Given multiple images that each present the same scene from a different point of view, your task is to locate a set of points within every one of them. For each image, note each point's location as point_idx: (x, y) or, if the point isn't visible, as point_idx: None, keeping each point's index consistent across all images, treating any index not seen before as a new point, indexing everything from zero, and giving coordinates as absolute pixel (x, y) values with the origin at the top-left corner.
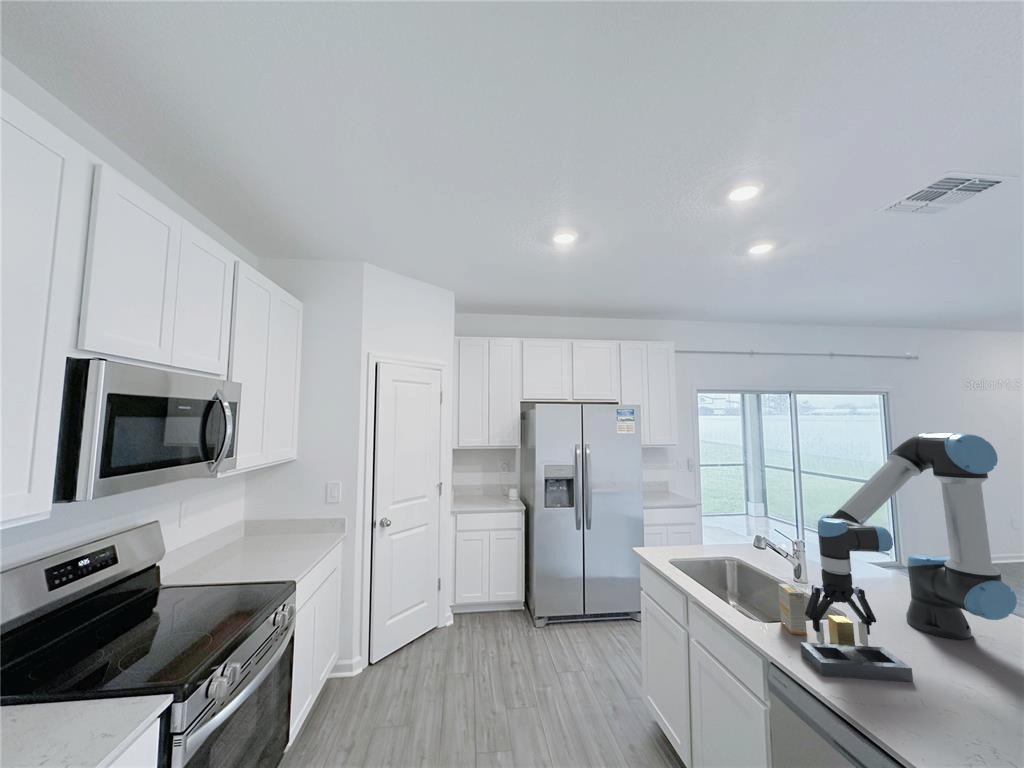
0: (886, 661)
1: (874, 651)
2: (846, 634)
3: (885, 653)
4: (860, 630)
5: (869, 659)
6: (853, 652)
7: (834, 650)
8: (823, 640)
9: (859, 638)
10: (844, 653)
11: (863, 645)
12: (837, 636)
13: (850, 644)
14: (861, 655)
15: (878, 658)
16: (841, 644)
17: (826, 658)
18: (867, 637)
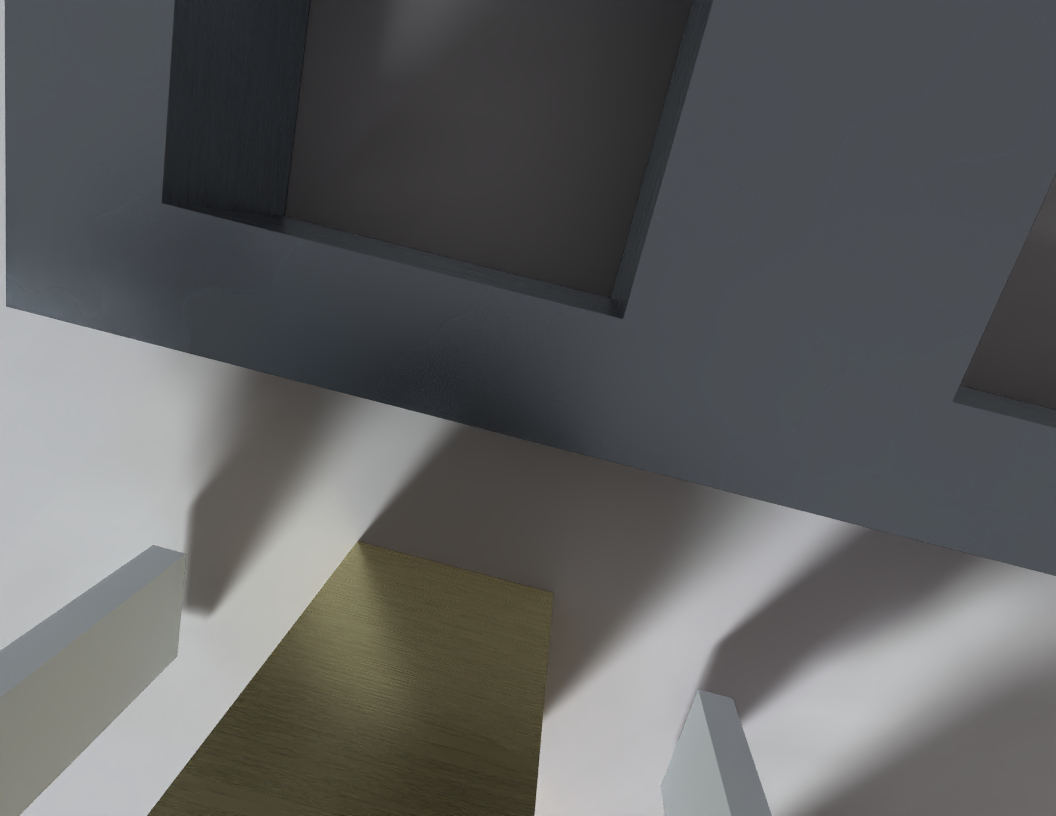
0: (245, 29)
1: (261, 225)
2: (383, 720)
3: (123, 74)
4: (18, 775)
5: (407, 250)
6: (773, 186)
7: (966, 400)
8: (719, 740)
9: (137, 694)
10: (1035, 162)
11: (182, 593)
12: (540, 730)
13: (386, 598)
14: (721, 35)
15: (268, 217)
16: (509, 627)
17: (1012, 400)
18: (39, 626)
